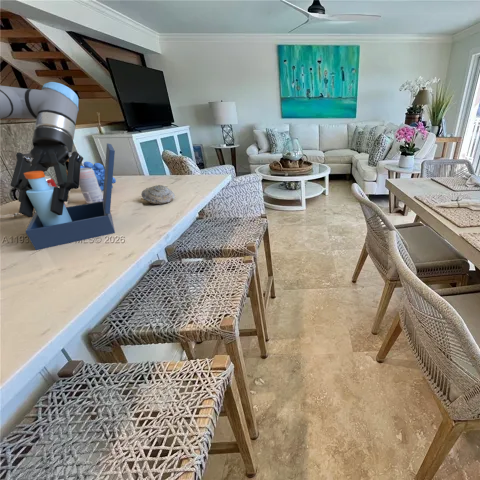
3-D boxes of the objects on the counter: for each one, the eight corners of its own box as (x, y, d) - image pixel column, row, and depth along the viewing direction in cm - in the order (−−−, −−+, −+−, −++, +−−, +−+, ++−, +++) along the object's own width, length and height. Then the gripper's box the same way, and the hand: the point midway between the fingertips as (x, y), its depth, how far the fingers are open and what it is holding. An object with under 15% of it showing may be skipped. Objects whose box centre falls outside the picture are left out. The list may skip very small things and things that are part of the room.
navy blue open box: (37, 253, 63) (25, 231, 61) (45, 231, 74) (35, 212, 72) (116, 235, 72) (108, 215, 69) (112, 218, 83) (105, 200, 80)
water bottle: (47, 239, 67) (14, 176, 60) (49, 232, 71) (19, 171, 64) (75, 233, 70) (48, 173, 63) (76, 226, 74) (50, 168, 67)
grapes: (82, 195, 104) (68, 164, 98) (85, 191, 109) (73, 161, 103) (117, 191, 108) (106, 161, 103) (119, 187, 114) (109, 158, 108)
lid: (109, 149, 65) (114, 150, 65) (106, 143, 76) (111, 144, 76) (105, 213, 69) (109, 213, 69) (102, 198, 80) (107, 199, 80)
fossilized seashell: (138, 202, 91) (138, 182, 90) (145, 203, 100) (145, 185, 100) (173, 204, 95) (173, 185, 94) (177, 205, 104) (177, 187, 104)
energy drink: (102, 199, 100) (89, 166, 94) (107, 201, 97) (94, 168, 91) (84, 202, 96) (70, 169, 90) (90, 205, 93) (75, 171, 88)
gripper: (102, 144, 77) (94, 217, 70) (25, 145, 73) (9, 222, 66) (85, 125, 70) (74, 204, 63) (-1, 125, 66) (-23, 210, 59)
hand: (41, 213), depth 65 cm, fingers closed on water bottle, 6 cm apart
